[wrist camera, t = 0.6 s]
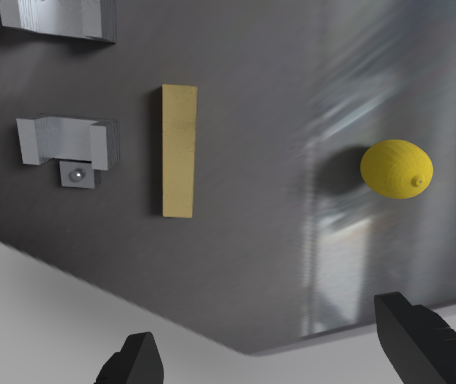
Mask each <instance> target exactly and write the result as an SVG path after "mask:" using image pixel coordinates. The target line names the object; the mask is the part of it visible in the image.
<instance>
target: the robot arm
mask: <svg viewBox="0 0 456 384" xmlns="http://www.w3.org/2000/svg"><path fill="white" fill-rule="evenodd" d="M374 304H375V314H376V324H377V333H378V337H379V341H380V344H381V346H382V348H383V350H384V352H385V354H386V356H387V357H388V359H389V361H390V362H391V364H392V365H393V367H394V369H395V370H396V372H397V373H398V375H399V377H400V378H401V380H402V381H403V383H404V384H456V332H455V331H454V330H453V329H451V328H450V326H449V325H448V324H447V323H446V322H445V321H444V320H443V319H442V318H441V317H440V316H439V315H438V314H437V313H435V312H433V311H431V310H430V309H428V308H426V307H424V306H422V305H414V306H412V305H411V304H410V303H409V302H408V301H407V299H406V298H405V297H404V296H403V295H402V294H401V293H400V292H391V293H385V294H379V295H375V297H374ZM163 380H164V370H163V364H162V362H161V358H160V355H159V352H158V349H157V346H156V343H155V340H154V337H153V335H152V333H151V332H145V333H138V334H132V335H129V336H128V337H127V339H126V341H125V343H124V345H123V347H122V349H121V351H120V352H116V353H114V354H113V356H112V357H111V358H110V359H109V360H108V361H107V362H106V363H105V364H104V365H103V367H102V369H101V371H100V373H99V375H98V377H97V379H96V382H95V383H94V384H163Z"/></svg>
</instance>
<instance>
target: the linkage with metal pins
mask: <svg viewBox="0 0 456 384" xmlns="http://www.w3.org/2000/svg"><path fill="white" fill-rule="evenodd" d="M0 13H1V20H2V26H5V27H9V28H13V29H17V30H21V31H25V32H29V33H35V34H43V35H52V36H60V37H69V38H77V39H86V40H94V41H103V42H111V43H117V38H116V4H115V0H0ZM16 119H17V126H18V132H19V139H20V145H21V152H22V159H23V164H35V165H40V164H42V163H44V162H46V161H48V160H50V159H52V158H61V159H63V160H61V161H59V162H60V171H61V181H62V186H68V187H82V188H96V187H97V186H98V185H99V184H100V183H101V177H100V170H109V169H110V168H111V167H112V166H113V165H114V164H115V163H116V162H117V161H119V160H120V141H119V120H108V119H98V118H87V117H76V116H66V115H55V114H45V113H40V114H35V115H30V116H26V117H21V118H16Z"/></svg>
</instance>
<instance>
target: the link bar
mask: <svg viewBox="0 0 456 384" xmlns="http://www.w3.org/2000/svg"><path fill="white" fill-rule="evenodd" d="M197 93H198V86H189V85H177V84H163V216H166V217H189V218H192V213H193V200H194V174H195V147H196V120H197Z"/></svg>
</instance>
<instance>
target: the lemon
mask: <svg viewBox="0 0 456 384" xmlns="http://www.w3.org/2000/svg"><path fill="white" fill-rule="evenodd" d="M360 170H361V175H362V177H363V179H364V181H365V183H366V184H367V185H368V186H369V187H370V188H371V189H372V190H373V191H375V192H377V193H379V194H381V195H383V196H386V197H390V198H395V199H406V198H410V197H413V196H416V195H417V194H419V193H421V192H422V191H423V190H424V189H425V188H426V187H427V186H428V185H429V183H430V181H431V178H432V175H433V167H432V163H431V160H430V159H429V157H428V156H427V154H426V153H425V152H424V151H422V150H421V149H420V148H419V147H417V146H416V145H414V144H412V143H409V142H406V141H403V140H385V141H381V142H379V143H376V144H374V145H373V146H372V147H370V148H369V149H368V150H367V151H366V152H365V154H364V156H363V157H362V160H361V166H360Z"/></svg>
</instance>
